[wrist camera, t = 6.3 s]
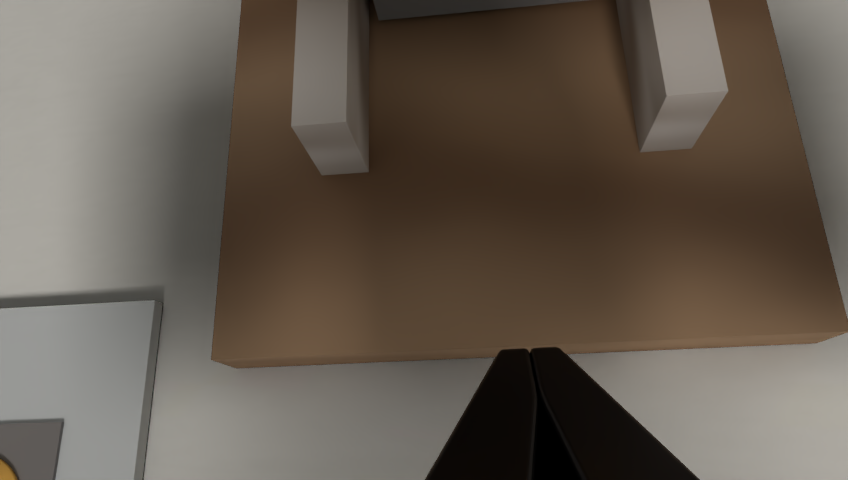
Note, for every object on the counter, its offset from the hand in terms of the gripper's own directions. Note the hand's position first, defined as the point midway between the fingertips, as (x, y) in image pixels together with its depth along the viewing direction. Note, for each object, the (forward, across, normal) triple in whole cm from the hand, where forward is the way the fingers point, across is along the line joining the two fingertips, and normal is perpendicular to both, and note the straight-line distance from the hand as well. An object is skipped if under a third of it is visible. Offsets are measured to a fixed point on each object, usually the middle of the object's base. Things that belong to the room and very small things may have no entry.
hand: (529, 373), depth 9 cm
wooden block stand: (+12, 0, -3) cm, 12 cm away
